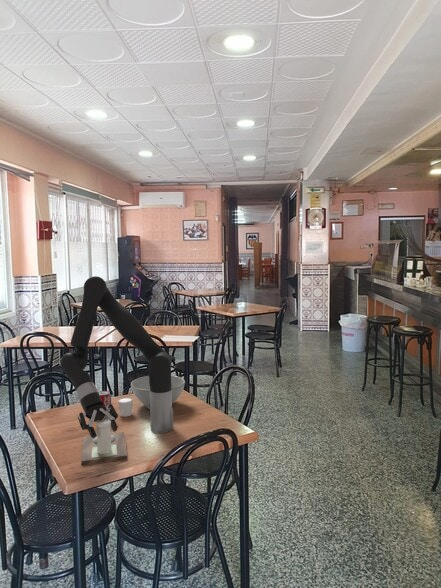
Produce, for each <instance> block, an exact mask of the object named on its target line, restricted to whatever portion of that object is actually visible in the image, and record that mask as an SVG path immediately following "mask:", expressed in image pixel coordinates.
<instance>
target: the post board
mask: <svg viewBox="0 0 441 588" xmlns="http://www.w3.org/2000/svg"><path fill="white" fill-rule="evenodd" d="M82 442H83V443H82V450H81V451H82V452H81V461H80V463H81V466H85V465H86V466H87V465H94V464H101V463H109V462H115V461H116V462H117V461H124V460H128V453H127V445H126V438H125V432H124V431H120V432H113V433H112V432H111V452H109V453H106V454H100V453H97V436H96V438H94V439H93V437H91V436H90V435H86V436H83V440H82Z"/></svg>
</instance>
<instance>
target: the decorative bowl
mask: <svg viewBox="0 0 441 588" xmlns="http://www.w3.org/2000/svg"><path fill="white" fill-rule="evenodd" d="M171 384H172V404H173V403H175V402H176V401H177V400H178V398H180V396H181V394H182V392H183V390H184V388H185V384H186V380H185V379H184V378H183V377H181V376H178V375H177V376H176V375H172V374H171ZM130 387H131V391H132V393H133V394H134V397H135V398H136V399H137V400H138V401H139V402H140V403H141V404H143V405H144V406H145V408H147V409H148V410H150V385H149V375H145V376H142V377H137V378H136V379H134V380H132V381H131V382H130Z"/></svg>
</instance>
